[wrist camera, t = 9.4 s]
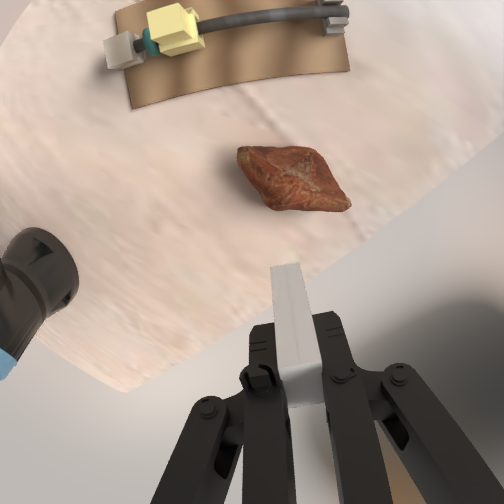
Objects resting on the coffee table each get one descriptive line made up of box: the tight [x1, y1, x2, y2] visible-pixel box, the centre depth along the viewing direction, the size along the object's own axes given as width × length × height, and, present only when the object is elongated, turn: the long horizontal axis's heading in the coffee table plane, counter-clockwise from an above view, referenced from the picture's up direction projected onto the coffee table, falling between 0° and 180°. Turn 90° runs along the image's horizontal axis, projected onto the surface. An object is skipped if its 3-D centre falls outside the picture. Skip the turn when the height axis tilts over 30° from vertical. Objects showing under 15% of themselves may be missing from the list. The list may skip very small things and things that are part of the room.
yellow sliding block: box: [147, 3, 205, 57], centre depth 24 cm, size 4×4×8 cm
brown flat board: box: [103, 0, 350, 109], centre depth 26 cm, size 26×14×5 cm, turn 100°
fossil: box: [237, 146, 352, 212], centre depth 33 cm, size 13×8×10 cm
